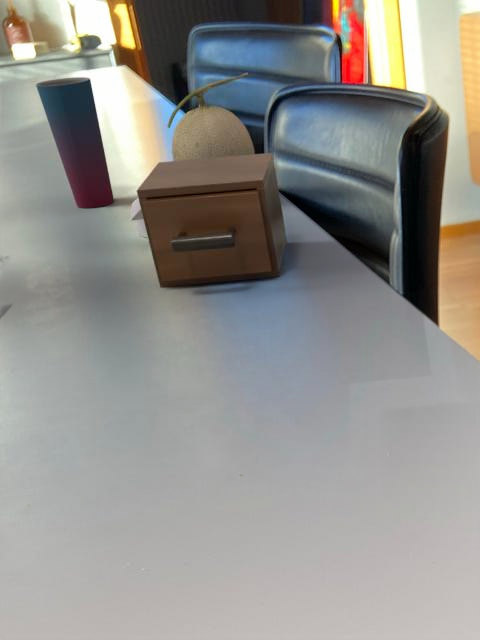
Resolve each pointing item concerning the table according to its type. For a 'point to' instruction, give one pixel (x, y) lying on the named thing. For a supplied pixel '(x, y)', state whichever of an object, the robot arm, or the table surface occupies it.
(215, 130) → the fruit
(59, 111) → the cup
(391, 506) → the table surface
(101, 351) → the table surface
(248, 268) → the drawer
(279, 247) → the cabinet
